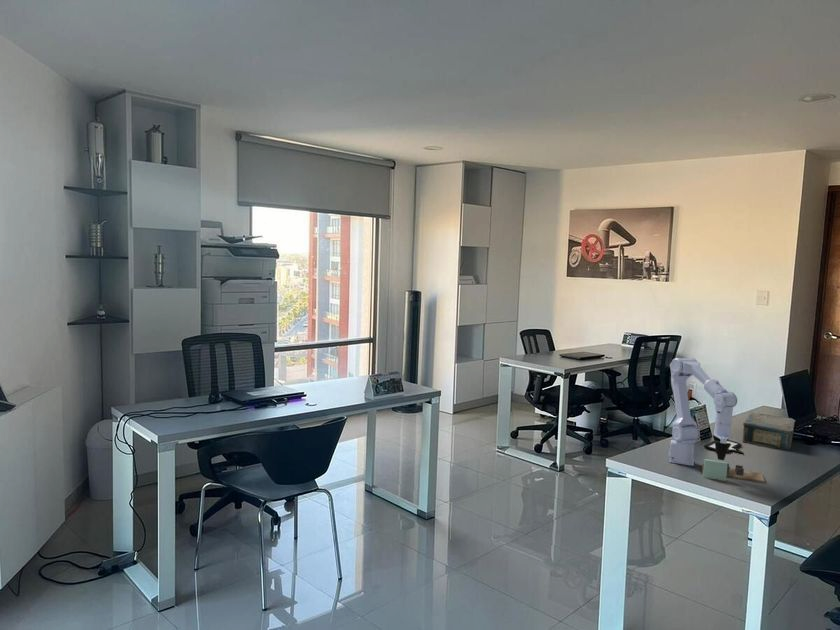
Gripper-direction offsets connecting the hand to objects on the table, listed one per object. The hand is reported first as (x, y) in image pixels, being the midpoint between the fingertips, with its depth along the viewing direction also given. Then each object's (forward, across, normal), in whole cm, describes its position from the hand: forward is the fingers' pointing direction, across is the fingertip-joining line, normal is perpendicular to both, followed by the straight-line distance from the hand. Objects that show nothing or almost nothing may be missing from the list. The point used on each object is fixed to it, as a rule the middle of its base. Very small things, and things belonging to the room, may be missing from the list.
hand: (719, 456), depth 237 cm
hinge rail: (+8, +9, -6) cm, 13 cm away
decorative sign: (+9, +50, -8) cm, 51 cm away
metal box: (+9, +80, -28) cm, 85 cm away
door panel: (+9, -1, +1) cm, 9 cm away
